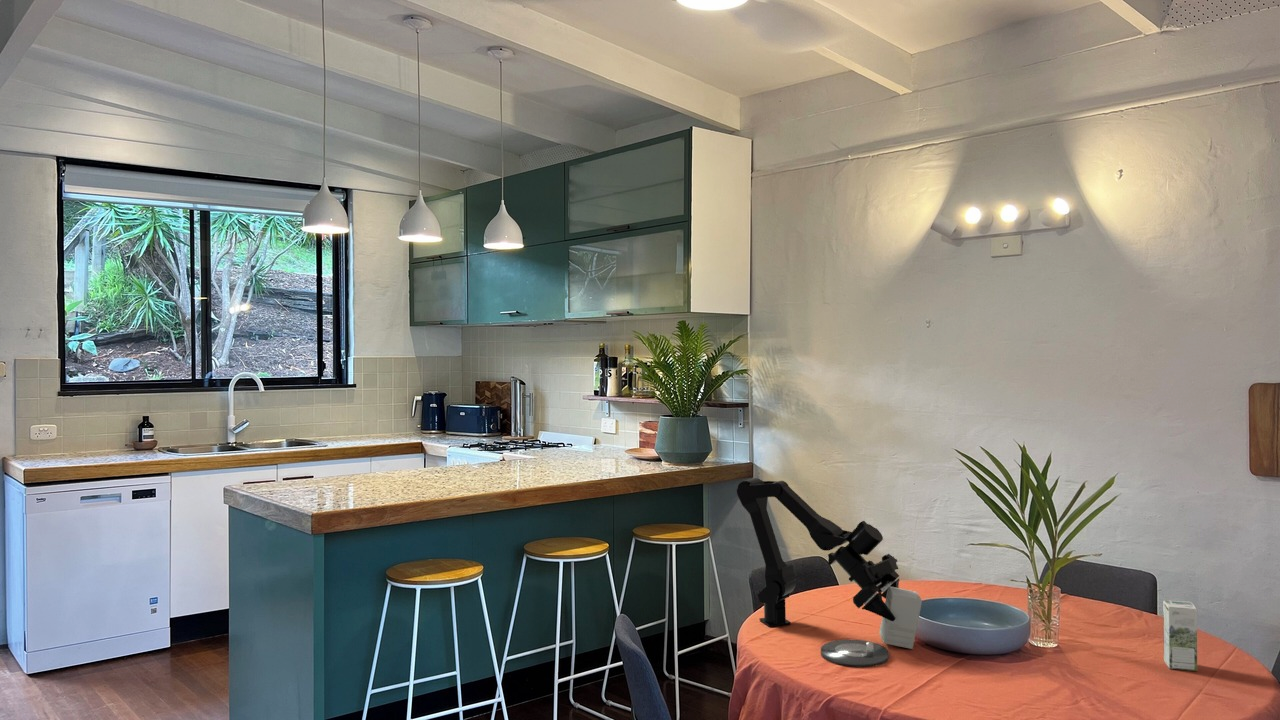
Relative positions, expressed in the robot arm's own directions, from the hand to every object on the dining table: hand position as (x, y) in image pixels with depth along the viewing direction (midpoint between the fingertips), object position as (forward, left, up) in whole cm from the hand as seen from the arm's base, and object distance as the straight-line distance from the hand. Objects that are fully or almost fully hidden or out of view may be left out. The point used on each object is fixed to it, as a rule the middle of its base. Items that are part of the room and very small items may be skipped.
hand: (900, 615), depth 224 cm
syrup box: (+36, +50, -8) cm, 62 cm away
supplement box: (-1, -1, -7) cm, 7 cm away
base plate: (+2, -14, -8) cm, 16 cm away
